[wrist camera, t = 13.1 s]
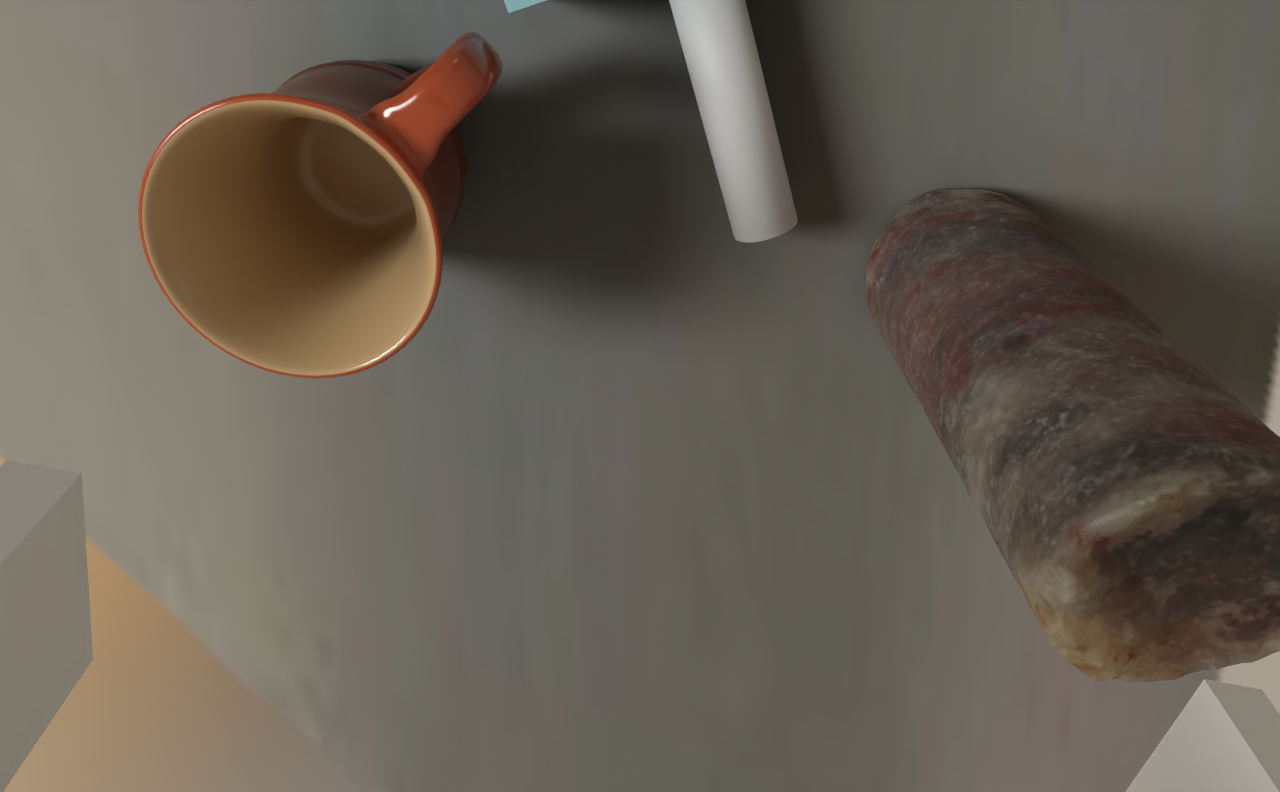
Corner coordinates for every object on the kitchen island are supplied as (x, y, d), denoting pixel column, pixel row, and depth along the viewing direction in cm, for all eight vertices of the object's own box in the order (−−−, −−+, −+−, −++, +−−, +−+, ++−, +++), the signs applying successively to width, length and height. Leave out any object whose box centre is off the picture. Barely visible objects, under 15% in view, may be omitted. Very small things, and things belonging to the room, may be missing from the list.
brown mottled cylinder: (1081, 199, 38) (1441, 498, 21) (1014, 364, 42) (1274, 736, 25) (892, 165, 38) (1101, 444, 20) (840, 335, 41) (980, 696, 24)
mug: (384, 299, 41) (311, 428, 32) (212, 139, 37) (76, 233, 29) (600, 106, 37) (584, 191, 28) (428, -91, 34) (348, -66, 25)
